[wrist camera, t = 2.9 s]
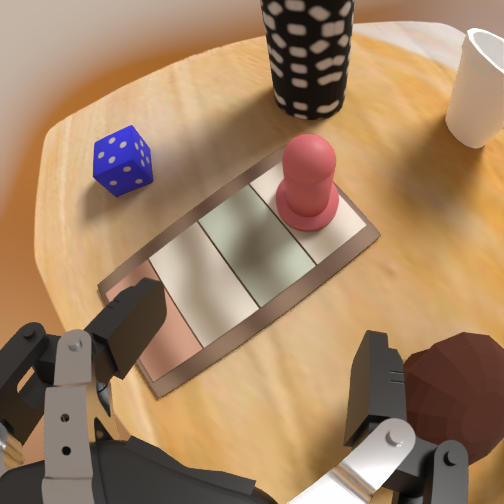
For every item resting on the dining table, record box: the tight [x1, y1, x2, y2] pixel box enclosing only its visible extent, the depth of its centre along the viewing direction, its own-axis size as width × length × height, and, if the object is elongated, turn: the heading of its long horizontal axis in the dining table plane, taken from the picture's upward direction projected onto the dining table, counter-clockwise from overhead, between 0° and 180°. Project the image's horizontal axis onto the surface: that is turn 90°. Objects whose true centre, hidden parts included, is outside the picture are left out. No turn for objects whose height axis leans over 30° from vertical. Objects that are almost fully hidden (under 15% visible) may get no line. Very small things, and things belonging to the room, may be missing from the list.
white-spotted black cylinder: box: [260, 0, 354, 120], centre depth 22 cm, size 8×8×20 cm
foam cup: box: [445, 28, 504, 149], centre depth 21 cm, size 10×9×13 cm
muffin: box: [403, 332, 504, 466], centre depth 16 cm, size 12×11×10 cm
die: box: [93, 125, 153, 197], centre depth 30 cm, size 5×5×5 cm
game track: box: [97, 143, 381, 398], centre depth 27 cm, size 25×13×1 cm, turn 126°
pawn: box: [276, 134, 339, 232], centre depth 23 cm, size 6×6×9 cm
